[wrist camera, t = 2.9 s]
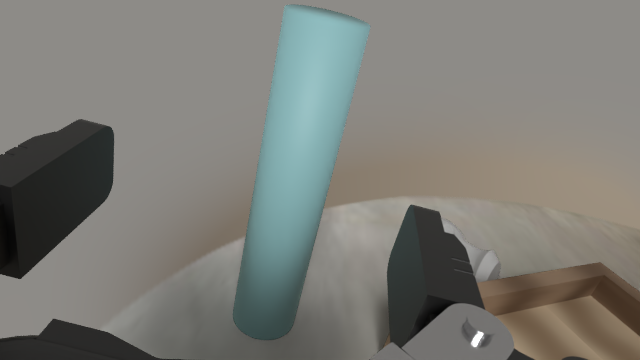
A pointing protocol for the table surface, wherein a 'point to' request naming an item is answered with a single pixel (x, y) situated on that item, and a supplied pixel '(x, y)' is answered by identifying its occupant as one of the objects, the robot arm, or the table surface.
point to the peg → (296, 162)
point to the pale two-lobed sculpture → (477, 256)
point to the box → (567, 313)
